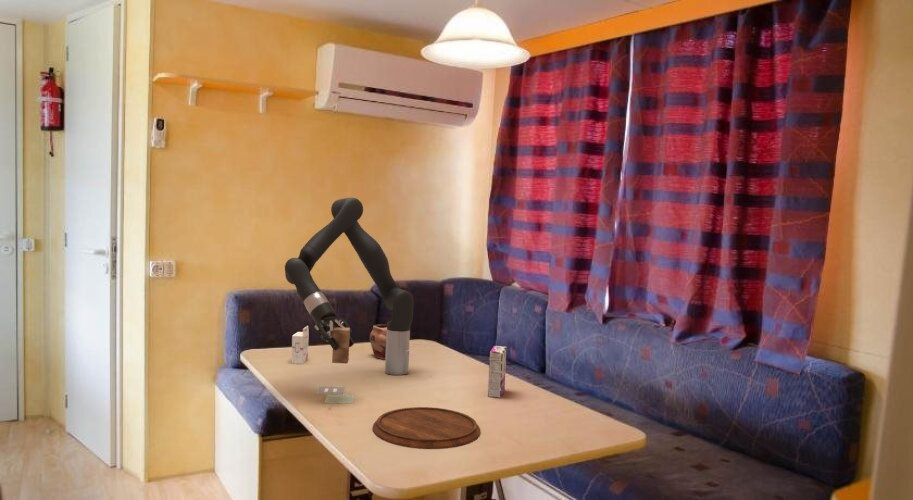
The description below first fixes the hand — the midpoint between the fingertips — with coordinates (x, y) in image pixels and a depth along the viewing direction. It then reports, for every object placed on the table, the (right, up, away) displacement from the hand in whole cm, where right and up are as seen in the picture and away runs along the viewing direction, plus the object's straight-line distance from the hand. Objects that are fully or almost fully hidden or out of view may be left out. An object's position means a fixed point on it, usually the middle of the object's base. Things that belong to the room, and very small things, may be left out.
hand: (344, 347), depth 216 cm
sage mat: (-2, -18, +2) cm, 18 cm away
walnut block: (-2, -5, +1) cm, 5 cm away
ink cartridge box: (-28, -14, +53) cm, 61 cm away
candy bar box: (+52, -20, +19) cm, 59 cm away
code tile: (-7, -17, +12) cm, 22 cm away
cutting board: (+28, -22, -23) cm, 42 cm away
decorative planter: (+5, -15, +70) cm, 72 cm away
